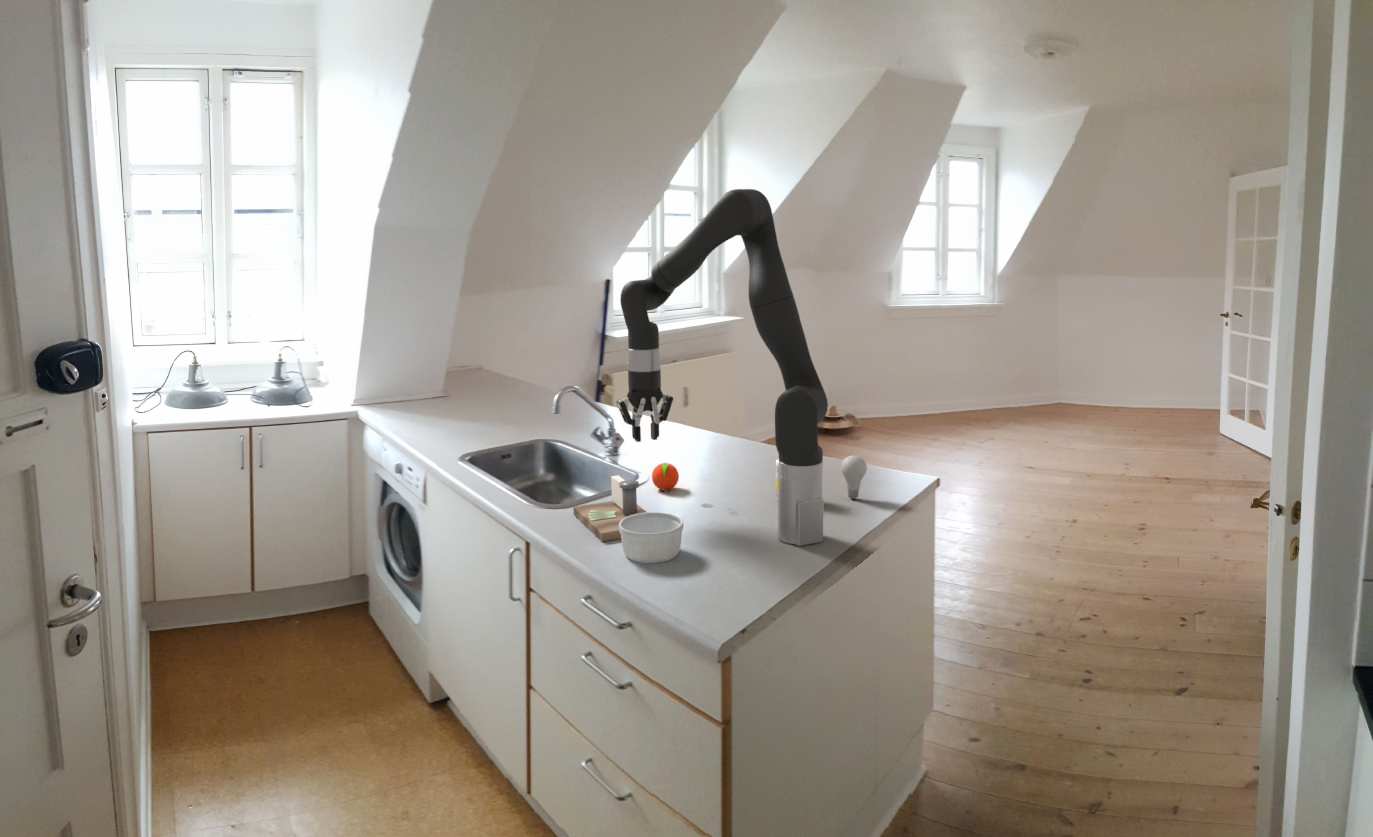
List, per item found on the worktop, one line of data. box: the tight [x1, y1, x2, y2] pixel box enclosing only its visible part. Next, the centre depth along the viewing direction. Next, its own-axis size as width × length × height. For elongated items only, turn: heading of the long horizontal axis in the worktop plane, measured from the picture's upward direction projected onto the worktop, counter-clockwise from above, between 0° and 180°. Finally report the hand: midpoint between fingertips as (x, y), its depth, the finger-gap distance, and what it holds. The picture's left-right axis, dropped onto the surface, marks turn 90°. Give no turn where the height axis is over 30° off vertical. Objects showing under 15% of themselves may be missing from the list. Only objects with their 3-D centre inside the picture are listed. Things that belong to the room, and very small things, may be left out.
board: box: [573, 500, 647, 543], centre depth 197 cm, size 20×14×2 cm
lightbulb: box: [840, 455, 868, 500], centre depth 211 cm, size 6×6×11 cm
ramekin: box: [619, 511, 684, 564], centre depth 178 cm, size 13×13×7 cm
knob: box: [610, 474, 640, 515], centre depth 200 cm, size 12×4×7 cm, turn 25°
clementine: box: [651, 462, 680, 491], centre depth 221 cm, size 8×7×7 cm
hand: (646, 439), depth 202 cm, fingers open, 3 cm apart
